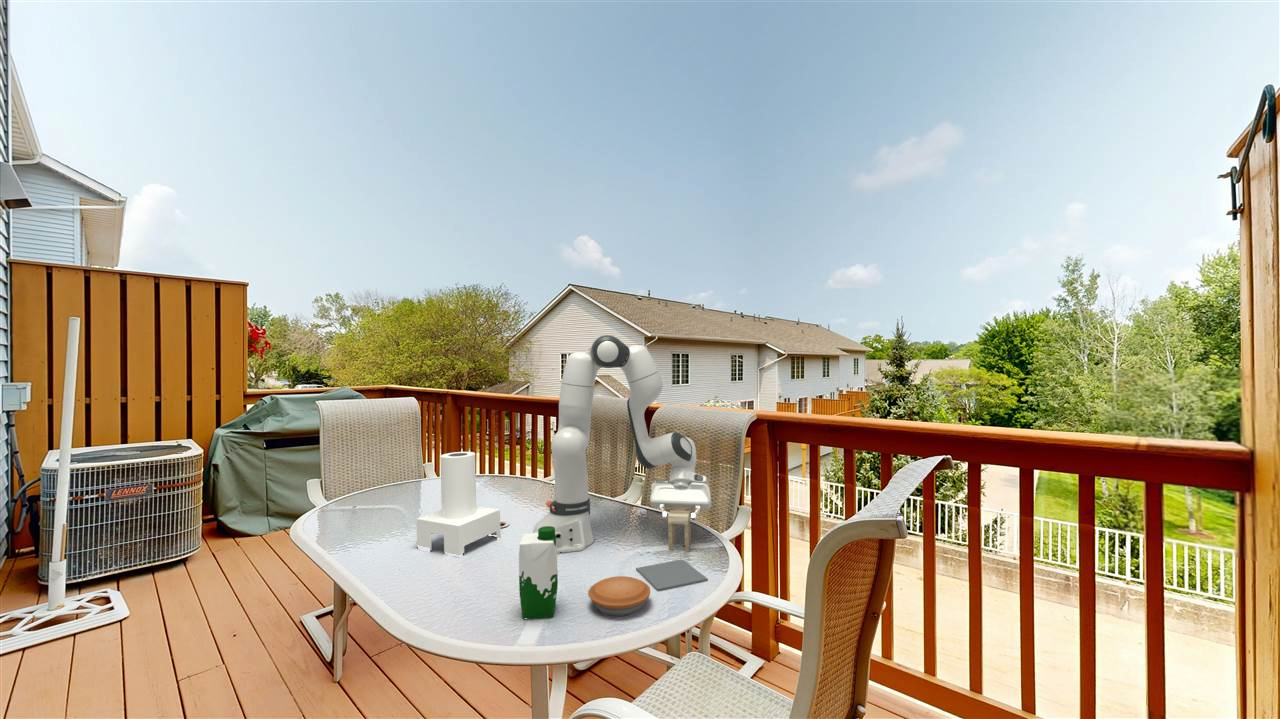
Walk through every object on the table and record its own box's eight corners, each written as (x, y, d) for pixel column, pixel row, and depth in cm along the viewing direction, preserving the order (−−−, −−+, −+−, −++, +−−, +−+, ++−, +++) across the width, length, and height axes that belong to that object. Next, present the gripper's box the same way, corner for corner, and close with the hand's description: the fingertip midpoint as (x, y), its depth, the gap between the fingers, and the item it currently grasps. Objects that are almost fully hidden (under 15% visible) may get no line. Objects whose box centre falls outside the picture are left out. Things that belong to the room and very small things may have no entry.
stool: (688, 551, 161) (688, 516, 161) (668, 550, 162) (667, 515, 162) (690, 544, 167) (690, 510, 167) (671, 543, 169) (670, 509, 169)
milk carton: (556, 619, 121) (554, 534, 120) (517, 621, 120) (515, 536, 120) (559, 601, 129) (557, 522, 129) (523, 604, 128) (521, 524, 128)
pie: (600, 626, 117) (600, 605, 117) (580, 598, 131) (580, 578, 131) (661, 612, 123) (661, 591, 123) (636, 586, 137) (635, 567, 137)
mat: (657, 591, 134) (657, 589, 134) (636, 570, 148) (636, 568, 148) (707, 580, 140) (707, 578, 140) (682, 561, 154) (682, 559, 154)
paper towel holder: (460, 531, 185) (458, 448, 185) (500, 538, 177) (498, 451, 177) (417, 549, 168) (415, 457, 168) (459, 558, 160) (457, 461, 160)
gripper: (650, 475, 174) (645, 512, 164) (711, 477, 170) (710, 515, 160) (653, 485, 178) (648, 522, 169) (712, 487, 174) (711, 525, 165)
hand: (679, 519), depth 164 cm, fingers open, 8 cm apart
